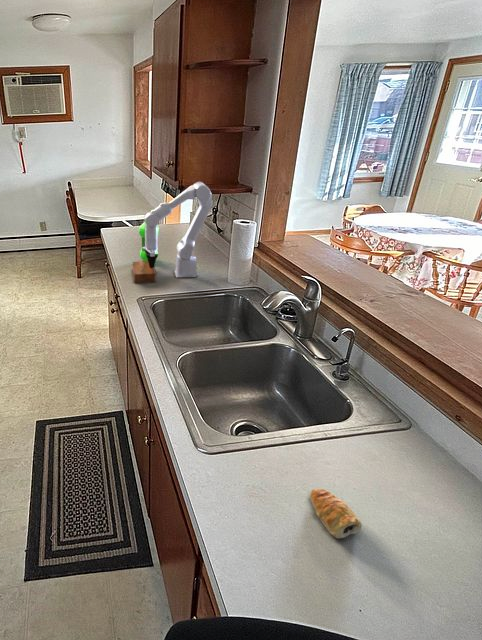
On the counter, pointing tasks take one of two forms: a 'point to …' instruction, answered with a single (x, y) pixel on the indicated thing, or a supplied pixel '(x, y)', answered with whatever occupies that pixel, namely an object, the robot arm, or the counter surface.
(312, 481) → the counter surface
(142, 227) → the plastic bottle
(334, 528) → the pastry
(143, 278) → the brown wooden box
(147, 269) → the lid
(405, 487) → the counter surface
